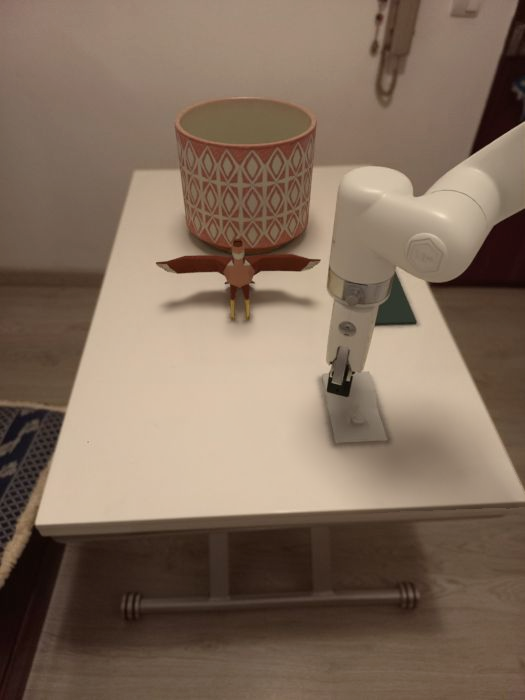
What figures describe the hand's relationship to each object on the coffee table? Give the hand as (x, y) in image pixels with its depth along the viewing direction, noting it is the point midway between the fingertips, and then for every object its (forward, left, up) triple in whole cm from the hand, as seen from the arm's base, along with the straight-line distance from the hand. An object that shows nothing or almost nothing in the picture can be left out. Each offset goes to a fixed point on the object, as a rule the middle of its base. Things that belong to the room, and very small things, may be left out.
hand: (341, 381), depth 67 cm
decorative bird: (+22, -17, -5) cm, 28 cm away
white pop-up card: (-2, 0, -5) cm, 5 cm away
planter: (+30, -43, -5) cm, 53 cm away
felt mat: (-1, -28, -5) cm, 28 cm away
